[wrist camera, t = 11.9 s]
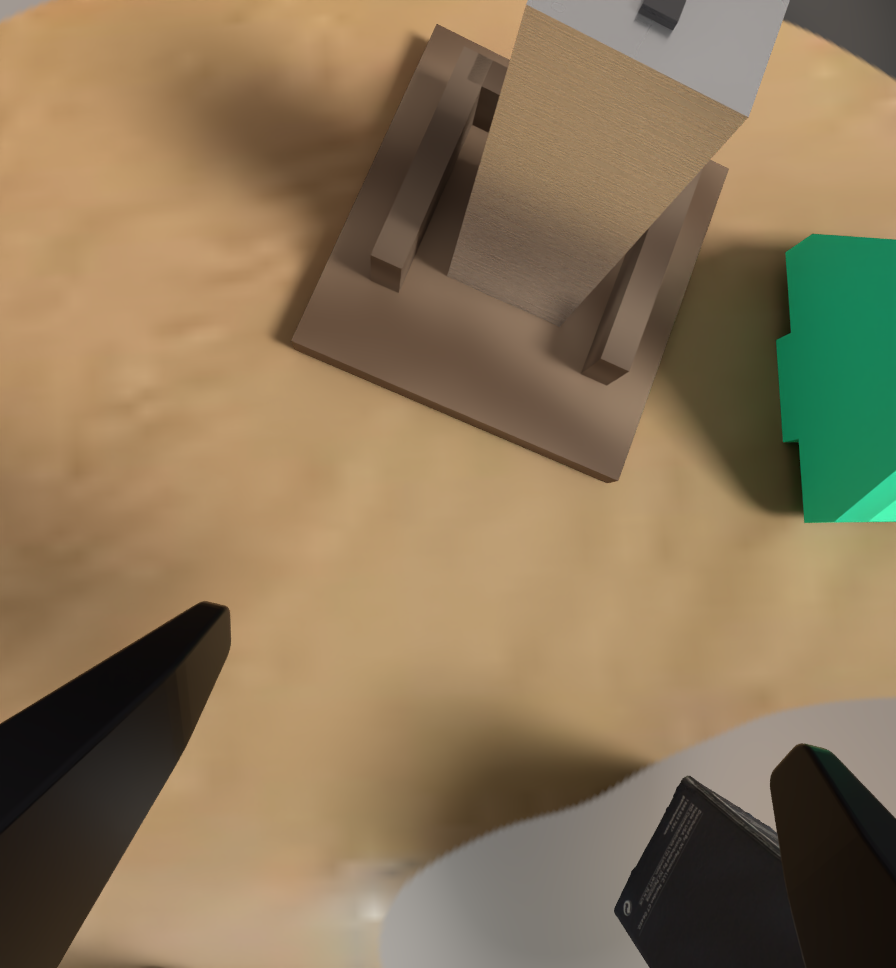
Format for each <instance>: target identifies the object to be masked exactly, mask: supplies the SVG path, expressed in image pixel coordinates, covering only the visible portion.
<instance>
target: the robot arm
mask: <svg viewBox="0 0 896 968" xmlns="http://www.w3.org/2000/svg"><path fill="white" fill-rule="evenodd" d="M230 646H231V625H230V610H229V608H228V607H227V606H225V605H220V604H216V603H212V602H207V601H203V602H200V603H198V604H196V605H194V606H193V607H191V608H189V609H188V610H186V611H184V612H183V613H181V614H179V615H178V616H176V617H175V618H173V619H171V620H170V621H168V622H166V623H165V624H163V625H161V626H160V627H158V628H157V629H155V630H153V631H152V632H150V633H148V634H147V635H145V636H143V637H142V638H140V639H138V640H137V641H135V642H134V643H132V644H130V645H129V646H127V647H125V648H124V649H122V650H120V651H119V652H117V653H116V654H114V655H112V656H111V657H109V658H107V659H106V660H104V661H102V662H101V663H99V664H98V665H96V666H94V667H93V668H91V669H89V670H88V671H86V672H84V673H83V674H81V675H79V676H78V677H76V678H75V679H73V680H71V681H70V682H68V683H66V684H65V685H63V686H61V687H60V688H58V689H57V690H55V691H53V692H52V693H50V694H48V695H47V696H45V697H43V698H42V699H40V700H38V701H37V702H35V703H34V704H32V705H30V706H29V707H27V708H25V709H24V710H22V711H20V712H19V713H17V714H16V715H14V716H12V717H11V718H9V719H7V720H6V721H4V722H2V723H1V724H0V968H57V967H58V965H59V963H60V962H61V960H62V958H63V956H64V955H65V953H66V951H67V950H68V948H69V946H70V945H71V943H72V941H73V939H74V938H75V936H76V934H77V933H78V931H79V929H80V928H81V926H82V924H83V922H84V921H85V919H86V917H87V916H88V914H89V912H90V911H91V909H92V907H93V905H94V904H95V902H96V900H97V899H98V897H99V895H100V894H101V892H102V890H103V888H104V887H105V885H106V883H107V882H108V880H109V878H110V876H111V875H112V873H113V871H114V870H115V868H116V866H117V865H118V863H119V861H120V859H121V858H122V856H123V854H124V853H125V851H126V849H127V848H128V846H129V844H130V842H131V841H132V839H133V837H134V836H135V834H136V832H137V831H138V829H139V827H140V825H141V824H142V822H143V820H144V819H145V817H146V815H147V814H148V812H149V810H150V808H151V807H152V805H153V803H154V802H155V800H156V798H157V796H158V795H159V793H160V791H161V790H162V788H163V786H164V785H165V783H166V781H167V779H168V778H169V776H170V774H171V773H172V771H173V769H174V768H175V766H176V764H177V762H178V761H179V759H180V757H181V755H182V753H183V751H184V750H185V748H186V746H187V744H188V741H189V739H190V737H191V735H192V733H193V731H194V729H195V727H196V724H197V722H198V720H199V718H200V716H201V713H202V711H203V709H204V707H205V705H206V702H207V700H208V698H209V696H210V694H211V691H212V689H213V687H214V685H215V683H216V680H217V678H218V676H219V674H220V672H221V669H222V667H223V665H224V663H225V661H226V658H227V656H228V653H229V650H230ZM770 790H771V797H772V803H773V810H774V816H775V822H776V829H777V835H778V842H779V848H780V855H781V861H782V867H783V874H784V880H785V885H786V890H787V895H788V900H789V904H790V909H791V913H792V917H793V921H794V925H795V929H796V933H797V937H798V941H799V945H800V949H801V953H802V957H803V960H804V964H805V968H896V818H895V817H894V816H893V815H892V814H891V813H890V812H889V811H888V810H887V809H886V808H885V807H884V806H883V805H882V804H881V803H880V802H879V801H878V800H877V798H875V796H874V795H873V794H872V793H871V792H870V791H869V790H868V789H867V788H866V787H865V786H864V785H863V784H862V783H861V782H860V781H859V780H858V779H857V778H856V777H855V776H854V774H853V773H852V772H851V771H850V770H849V769H848V768H847V767H846V766H845V765H844V764H843V763H842V762H841V761H840V760H839V759H838V758H837V757H836V756H835V755H834V754H833V753H832V752H830V751H829V750H827V749H824V748H821V747H817V746H813V745H808V744H798V745H796V746H795V747H794V748H793V749H792V750H791V751H790V752H789V753H788V754H787V755H786V757H785V758H784V759H783V760H782V761H781V762H780V763H779V764H778V766H777V767H776V768H775V769H774V770H773V772H772V774H771V778H770Z"/></svg>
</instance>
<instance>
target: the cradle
mask: <svg viewBox="0 0 896 968" xmlns="http://www.w3.org/2000/svg"><path fill="white" fill-rule="evenodd" d="M509 62H510V60H509V59H507V58H505V57H502V56H500V55H498V54H496V53H494V52H492V51H490V50H488V49H486V48H484V47H482V46H480V45H478V44H476V43H474V42H472V41H470V40H468V39H466V38H464V37H462V36H460V35H458V34H456V33H454V32H452V31H450V30H448V29H446V28H444V27H442V26H440V25H438V24H437V25H436V27H435V29H434V31H433V33H432V35H431V38H430V40H429V42H428V44H427V46H426V49H425V51H424V53H423V55H422V57H421V59H420V62H419V64H418V66H417V68H416V70H415V72H414V75H413V77H412V79H411V81H410V83H409V85H408V88H407V90H406V92H405V94H404V96H403V98H402V101H401V103H400V105H399V107H398V109H397V112H396V114H395V116H394V118H393V120H392V122H391V125H390V127H389V129H388V131H387V133H386V135H385V138H384V140H383V142H382V144H381V146H380V148H379V151H378V153H377V155H376V157H375V159H374V161H373V164H372V166H371V168H370V170H369V172H368V175H367V177H366V179H365V181H364V183H363V185H362V188H361V190H360V192H359V194H358V196H357V198H356V201H355V203H354V205H353V207H352V209H351V211H350V214H349V216H348V218H347V220H346V222H345V225H344V227H343V229H342V231H341V233H340V235H339V238H338V240H337V242H336V244H335V246H334V248H333V251H332V253H331V255H330V257H329V259H328V261H327V264H326V266H325V268H324V270H323V272H322V274H321V277H320V279H319V281H318V283H317V285H316V288H315V290H314V292H313V294H312V296H311V298H310V301H309V303H308V305H307V307H306V309H305V311H304V314H303V316H302V318H301V320H300V322H299V324H298V327H297V329H296V331H295V333H294V335H293V338H292V340H291V342H292V344H293V346H294V349H295V350H297V351H300V352H302V353H304V354H307V355H309V356H311V357H314V358H316V359H319V360H321V361H323V362H326V363H328V364H330V365H333V366H335V367H337V368H340V369H342V370H344V371H347V372H349V373H351V374H354V375H356V376H358V377H361V378H363V379H365V380H368V381H370V382H372V383H375V384H377V385H379V386H382V387H384V388H386V389H389V390H391V391H393V392H396V393H398V394H400V395H403V396H405V397H407V398H410V399H412V400H414V401H417V402H419V403H421V404H424V405H426V406H428V407H431V408H433V409H436V410H438V411H440V412H443V413H445V414H447V415H450V416H452V417H454V418H457V419H459V420H461V421H464V422H466V423H468V424H471V425H473V426H475V427H478V428H480V429H482V430H485V431H487V432H489V433H492V434H494V435H496V436H499V437H501V438H503V439H506V440H508V441H510V442H513V443H515V444H517V445H520V446H522V447H524V448H527V449H529V450H531V451H534V452H536V453H538V454H541V455H543V456H545V457H548V458H550V459H553V460H555V461H557V462H560V463H562V464H564V465H567V466H569V467H571V468H574V469H576V470H578V471H581V472H583V473H585V474H588V475H590V476H592V477H595V478H597V479H599V480H602V481H604V482H606V483H611V482H615V481H618V480H619V477H620V474H621V472H622V469H623V466H624V463H625V460H626V458H627V455H628V452H629V449H630V446H631V443H632V441H633V438H634V435H635V432H636V429H637V427H638V424H639V421H640V418H641V415H642V412H643V410H644V407H645V404H646V401H647V398H648V395H649V393H650V390H651V387H652V384H653V381H654V379H655V376H656V373H657V370H658V367H659V364H660V362H661V359H662V356H663V353H664V350H665V348H666V345H667V342H668V339H669V336H670V333H671V331H672V328H673V325H674V322H675V319H676V316H677V314H678V311H679V308H680V305H681V302H682V300H683V297H684V294H685V291H686V288H687V285H688V283H689V280H690V277H691V274H692V271H693V269H694V266H695V263H696V260H697V257H698V254H699V252H700V249H701V246H702V243H703V240H704V237H705V235H706V232H707V229H708V226H709V223H710V221H711V218H712V215H713V212H714V209H715V206H716V204H717V201H718V198H719V195H720V192H721V189H722V187H723V184H724V181H725V178H726V175H727V173H728V170H729V169H728V168H726V167H724V166H722V165H720V164H718V163H716V162H714V161H712V160H709V162H708V163H707V164H706V165H705V166H704V167H703V168H702V169H701V170H700V172H699V173H698V174H697V175H696V176H695V177H694V178H693V179H692V180H691V182H690V183H689V184H688V185H687V186H686V187H685V188H684V189H683V190H682V192H681V193H680V194H679V195H678V196H677V197H676V198H675V199H674V200H673V202H672V203H671V204H670V205H669V206H668V207H667V208H666V209H665V210H664V212H663V213H662V214H661V215H660V216H659V217H658V218H657V219H656V220H655V222H654V223H653V224H652V225H651V226H650V227H649V228H648V229H647V230H646V232H645V233H644V234H643V235H642V236H641V237H640V238H639V239H638V240H637V241H636V243H635V244H634V245H633V246H632V247H631V248H630V249H629V250H628V251H627V253H626V254H625V255H624V256H623V257H622V258H621V259H620V260H619V261H618V263H617V264H616V265H615V266H614V267H613V268H612V269H611V270H610V271H609V273H608V274H607V275H606V276H605V277H604V278H603V279H602V280H601V281H600V283H599V284H598V285H597V286H596V287H595V288H594V289H593V290H592V291H591V293H590V294H589V295H588V296H587V297H586V298H585V299H584V300H583V301H582V303H581V304H580V305H579V306H578V307H577V308H576V309H575V310H574V311H573V313H572V314H571V315H570V316H569V317H568V318H567V319H566V320H565V321H564V323H563V324H562V325H561V326H560V327H558V326H556V325H554V324H551V323H549V322H547V321H545V320H543V319H540V318H538V317H536V316H534V315H531V314H529V313H527V312H525V311H523V310H520V309H518V308H516V307H514V306H512V305H509V304H507V303H505V302H503V301H500V300H498V299H496V298H494V297H492V296H489V295H487V294H485V293H483V292H480V291H478V290H476V289H474V288H472V287H469V286H467V285H465V284H463V283H461V282H458V281H456V280H454V279H452V278H449V277H447V275H448V271H449V268H450V265H451V261H452V258H453V254H454V251H455V247H456V244H457V241H458V237H459V234H460V230H461V227H462V223H463V220H464V217H465V213H466V210H467V206H468V203H469V199H470V196H471V192H472V189H473V186H474V182H475V179H476V175H477V172H478V168H479V165H480V162H481V158H482V155H483V151H484V148H485V144H486V141H487V138H488V134H489V131H490V127H491V124H492V120H493V117H494V114H495V110H496V107H497V103H498V100H499V96H500V93H501V89H502V86H503V83H504V79H505V76H506V72H507V69H508V65H509Z"/></svg>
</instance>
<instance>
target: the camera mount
mask: <svg viewBox="0 0 896 968" xmlns="http://www.w3.org/2000/svg"><path fill="white" fill-rule="evenodd" d="M785 254H786V268H787V282H788V296H789V311H790V325H791V333H789V334H787V335H785V336H783V337H781V338H779V339H777V340H776V347H777V362H778V376H779V391H780V406H781V420H782V435H783V442H799V452H800V467H801V481H802V495H803V509H804V523H827V522H896V240H894V239H879V238H865V237H851V236H836V235H822V234H811V235H810V236H809V237H807V238H806V239H804V240H803V241H801V242H800V243H798V244H797V245H795V246H794V247H792V248H791V249H790V250H788V251H787V252H785Z"/></svg>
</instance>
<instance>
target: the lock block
mask: <svg viewBox="0 0 896 968" xmlns="http://www.w3.org/2000/svg"><path fill="white" fill-rule="evenodd" d="M789 1H790V0H528V2H527V4H526V7H525V10H524V14H523V17H522V21H521V24H520V28H519V31H518V35H517V38H516V41H515V45H514V48H513V52H512V55H511V59H510V62H509V65H508V69H507V72H506V76H505V79H504V83H503V86H502V89H501V93H500V96H499V100H498V103H497V107H496V110H495V114H494V117H493V120H492V124H491V127H490V131H489V134H488V138H487V141H486V144H485V148H484V151H483V155H482V158H481V162H480V165H479V168H478V172H477V175H476V179H475V182H474V186H473V189H472V192H471V196H470V199H469V203H468V206H467V210H466V213H465V217H464V220H463V223H462V227H461V230H460V234H459V237H458V241H457V244H456V247H455V251H454V254H453V258H452V261H451V265H450V268H449V271H448V275H447V277H449V278H452V279H454V280H456V281H458V282H461V283H463V284H465V285H467V286H469V287H472V288H474V289H476V290H478V291H480V292H483V293H485V294H487V295H489V296H492V297H494V298H496V299H498V300H500V301H503V302H505V303H507V304H509V305H512V306H514V307H516V308H518V309H520V310H523V311H525V312H527V313H529V314H531V315H534V316H536V317H538V318H540V319H543V320H545V321H547V322H549V323H551V324H554V325H556V326H558V327H560V326H561V325H562V324H563V323H564V321H565V320H566V319H567V318H568V317H569V316H570V315H571V314H572V313H573V311H574V310H575V309H576V308H577V307H578V306H579V305H580V304H581V303H582V301H583V300H584V299H585V298H586V297H587V296H588V295H589V294H590V293H591V291H592V290H593V289H594V288H595V287H596V286H597V285H598V284H599V283H600V281H601V280H602V279H603V278H604V277H605V276H606V275H607V274H608V273H609V271H610V270H611V269H612V268H613V267H614V266H615V265H616V264H617V263H618V261H619V260H620V259H621V258H622V257H623V256H624V255H625V254H626V253H627V251H628V250H629V249H630V248H631V247H632V246H633V245H634V244H635V243H636V241H637V240H638V239H639V238H640V237H641V236H642V235H643V234H644V233H645V232H646V230H647V229H648V228H649V227H650V226H651V225H652V224H653V223H654V222H655V220H656V219H657V218H658V217H659V216H660V215H661V214H662V213H663V212H664V210H665V209H666V208H667V207H668V206H669V205H670V204H671V203H672V202H673V200H674V199H675V198H676V197H677V196H678V195H679V194H680V193H681V192H682V190H683V189H684V188H685V187H686V186H687V185H688V184H689V183H690V182H691V180H692V179H693V178H694V177H695V176H696V175H697V174H698V173H699V172H700V170H701V169H702V168H703V167H704V166H705V165H706V164H707V163H708V162H709V160H710V159H711V158H712V157H713V156H714V155H715V154H716V153H717V152H718V150H719V149H720V148H721V147H722V146H723V145H724V144H725V143H726V142H727V140H728V139H729V138H730V137H731V136H732V135H733V134H734V133H735V132H736V130H737V129H738V128H739V127H740V126H741V125H742V124H743V123H744V122H745V120H746V119H747V118H748V117H749V114H750V111H751V109H752V106H753V103H754V100H755V97H756V94H757V92H758V89H759V86H760V83H761V80H762V77H763V75H764V72H765V69H766V66H767V63H768V60H769V57H770V55H771V52H772V49H773V46H774V43H775V40H776V38H777V35H778V32H779V29H780V26H781V23H782V21H783V18H784V15H785V12H786V9H787V6H788V4H789Z"/></svg>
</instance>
